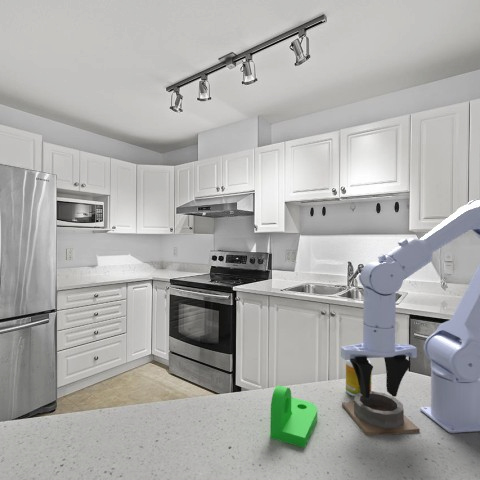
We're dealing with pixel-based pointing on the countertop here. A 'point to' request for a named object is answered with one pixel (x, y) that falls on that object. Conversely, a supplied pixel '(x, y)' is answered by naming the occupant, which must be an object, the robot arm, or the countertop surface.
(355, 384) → the supplement bottle
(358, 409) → the collar holder
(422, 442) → the countertop surface
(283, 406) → the mechanical part
